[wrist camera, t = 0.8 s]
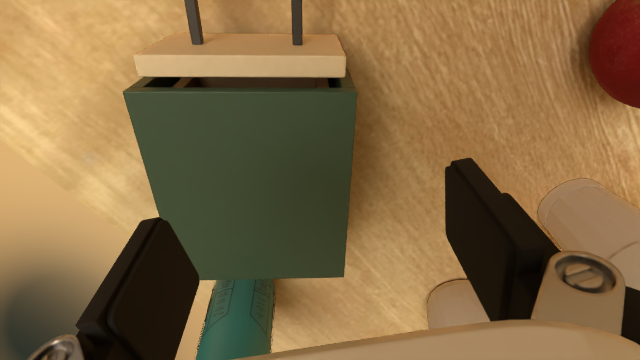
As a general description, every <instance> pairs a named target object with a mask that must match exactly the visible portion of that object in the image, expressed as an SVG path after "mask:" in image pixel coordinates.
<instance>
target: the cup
mask: <svg viewBox="0 0 640 360" xmlns="http://www.w3.org/2000/svg"><path fill="white" fill-rule="evenodd" d="M538 219H539V221H540V223H541V224H542V225H543V226H544V227H545V228H546V229H547V230H548V231H549V233H550V234H551V235H552V237H553V238H554V239H555V241H556V242H557V243H558V244H559V246H560V247H561V248H562V250H563V251H583V252H588V253H591V254H594V255H597V256H600V257H602V258H604V259H605V260H607V261H609V262H611V263H612V264H613V265H614V266H615V267H617V268H618V269H619V270H620V272H621V273H622V275H623V276H624V279H625V284H626V286H628V287H631V288H634V289H637V290H640V210H639V209H638V208H636V207H635V206H633V205H631V204H630V203H628V202H626V201H625V200H623V199H622V198H620V197H618V196H617V195H615V194H613V193H612V192H610V191H609V190H607V189H606V188H605V187H603V186H602V185H601V184H599V183H598V182H596V181H594V180H592V179H586V178H581V179H574V180H570V181H568V182H565V183H563V184H561V185H559V186H557V187H556V188H554V189H553V190H552V191H550V192H549V193H548V194H547V195H546V196H545V197H544V199H543V200H542V202H541V203H540V206H539V208H538Z"/></svg>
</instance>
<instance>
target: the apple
mask: <svg viewBox="0 0 640 360" xmlns="http://www.w3.org/2000/svg"><path fill="white" fill-rule="evenodd" d="M589 59H590V64H591V68H592V71H593V74H594V76H595V78H596V79H597V81H598V83H599V84H600V85H601V87H602V88H603V89H604V90H605V91H606V92H607V93H608V94H609V95H610V96H611V97H613V98H614V99H616V100H618V101H619V102H621V103H624V104H626V105H629V106H632V107H636V108H640V0H616V1H615V2H614V3H613V4H612V5H611V6H610V7H609V8H608V9H607V11H606V12H605V13H604V14H603V16H602V17H601V18H600V20H599V21H598V23H597V24H596V26H595V28H594V30H593V33H592V37H591V42H590V49H589Z"/></svg>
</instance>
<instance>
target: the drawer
mask: <svg viewBox="0 0 640 360" xmlns="http://www.w3.org/2000/svg"><path fill="white" fill-rule="evenodd" d="M184 1H185V6H186V12H187V18H188V24H189V29H190V33H173V34H171V35H169V36H168V37H166V38H164V39H162V40H160V41H158V42H156V43H154V44H152V45H151V46H149V47H147V48H145V49H143V50H141V51H139V52H137V53H136V54H134V55H133V58H134V62H135V66H136V69H137V73H138V76H139V77H182V78H181V79H180V80H179V81H178V82H177V83H176V84H175V85H173V86H172V87H178V88H329V84H328V79H327V78H344V77H345V73H346V55H345V53H344V51H343V49H342V46H341V44H340V42H339V40H338V38H337V35H336V34H302V0H291V5H292V34H231V33H202V26H201V20H200V13H199V7H198V1H197V0H184Z"/></svg>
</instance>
